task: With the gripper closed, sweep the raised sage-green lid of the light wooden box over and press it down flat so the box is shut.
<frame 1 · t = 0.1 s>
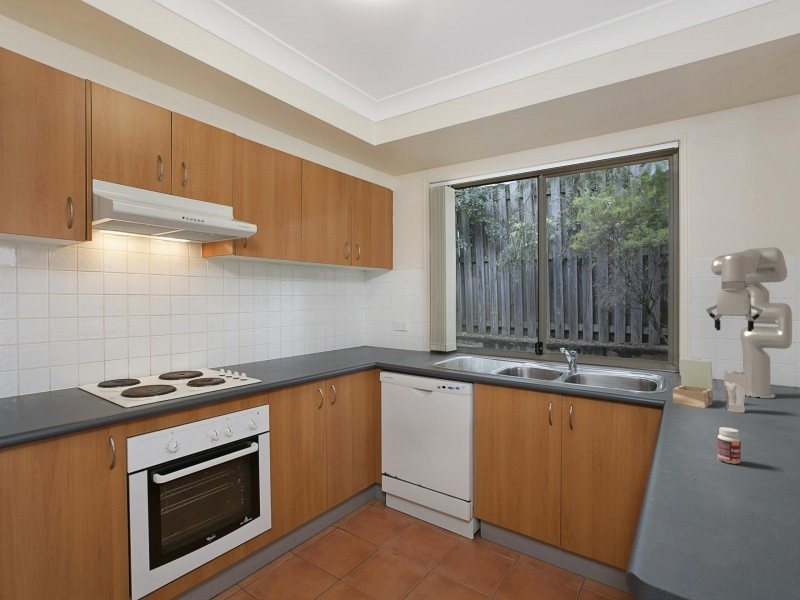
hand: (733, 330, 162), 31 cm above the countertop, tool pointing down, fingers open, 9 cm apart
pill bottle: (729, 462, 109), on the countertop
beer glass: (735, 411, 162), on the countertop
box lid: (696, 372, 178), point 12 cm above the countertop, hinge at 75.0°
light wooden box: (692, 403, 175), on the countertop
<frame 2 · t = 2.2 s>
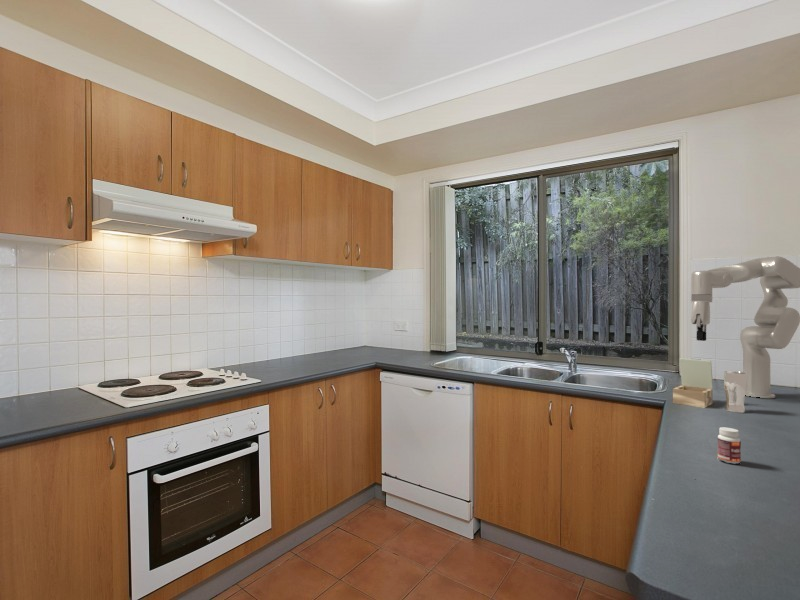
hand: (701, 340, 184), 26 cm above the countertop, tool pointing down, fingers closed
nothing on the countertop moved.
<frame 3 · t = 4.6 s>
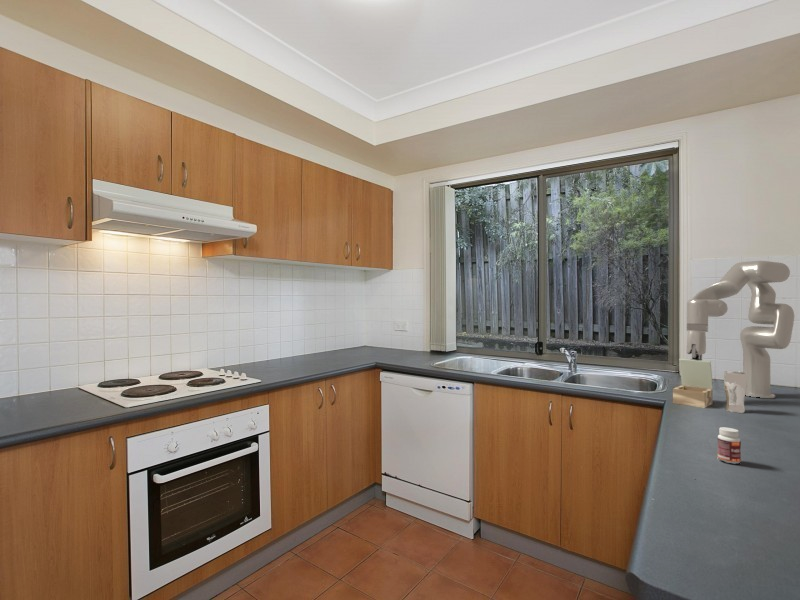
hand: (696, 370, 179), 13 cm above the countertop, tool pointing down, fingers closed
box lid: (696, 372, 178), point 12 cm above the countertop, hinge at 71.3°, touching gripper
everything else where it was.
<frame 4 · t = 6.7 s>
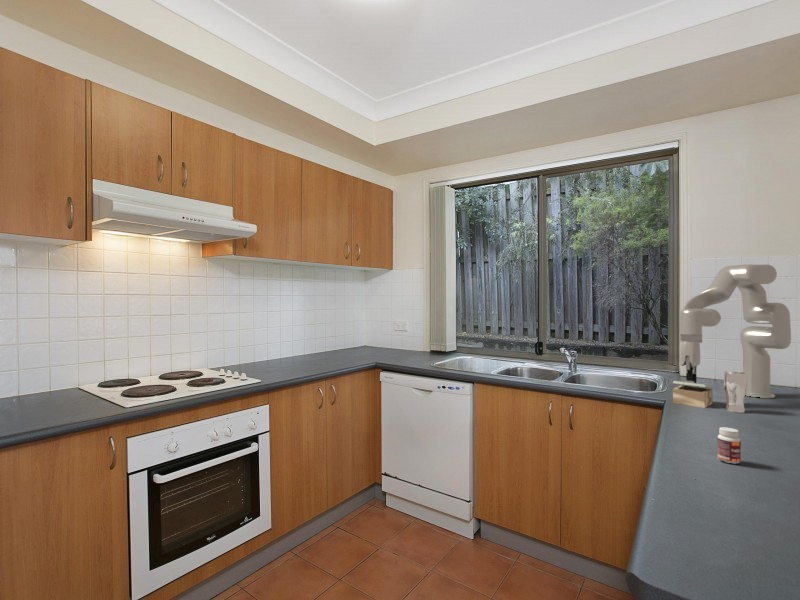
hand: (691, 382, 174), 9 cm above the countertop, tool pointing down, fingers closed
box lid: (692, 383, 175), point 8 cm above the countertop, hinge at 10.0°, touching gripper
everything else where it was.
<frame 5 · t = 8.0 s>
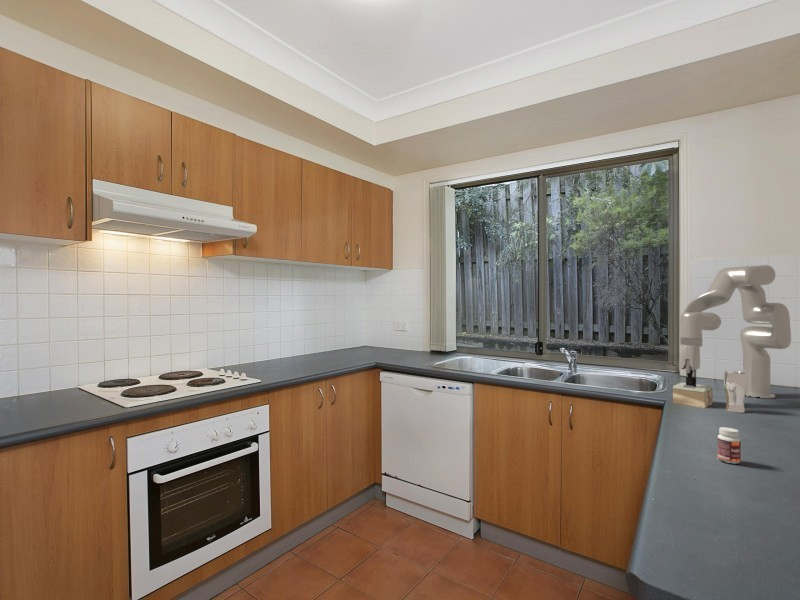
hand: (691, 386, 173), 7 cm above the countertop, tool pointing down, fingers closed
box lid: (692, 386, 175), point 7 cm above the countertop, hinge at -0.1°, touching gripper
everything else where it was.
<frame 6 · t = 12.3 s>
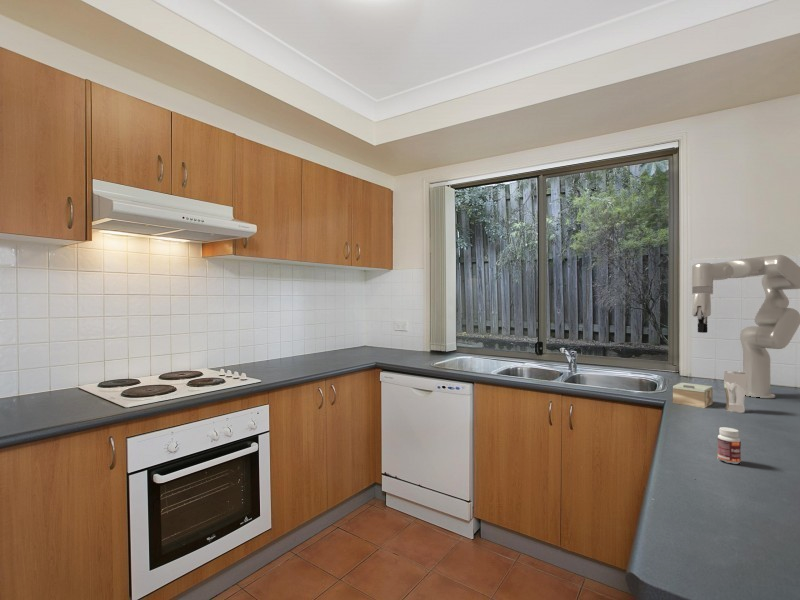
hand: (702, 332, 185), 29 cm above the countertop, tool pointing down, fingers closed
box lid: (692, 386, 175), point 7 cm above the countertop, hinge at -0.1°
everything else where it was.
at the end: box lid at +0° (first picture: +75°); beer glass moved 0.2 cm from its start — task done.
